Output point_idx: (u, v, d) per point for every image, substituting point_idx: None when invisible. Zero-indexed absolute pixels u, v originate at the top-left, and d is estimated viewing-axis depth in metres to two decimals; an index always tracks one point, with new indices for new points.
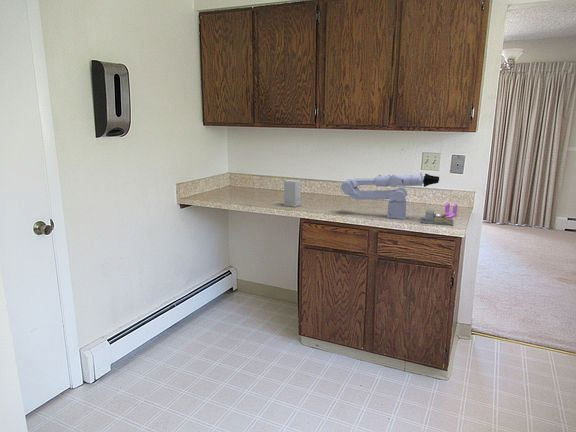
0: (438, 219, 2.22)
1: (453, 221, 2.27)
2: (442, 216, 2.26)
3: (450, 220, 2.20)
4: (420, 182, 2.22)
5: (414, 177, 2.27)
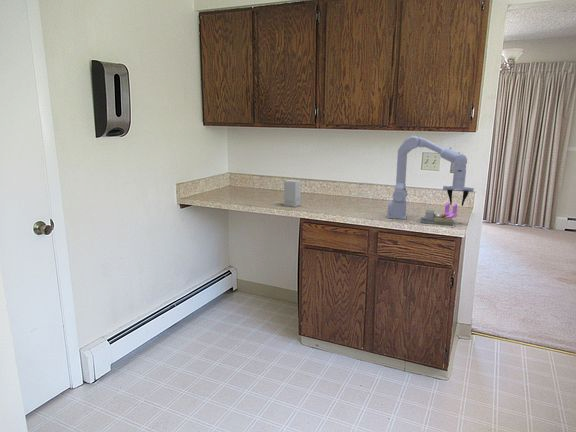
0: (438, 219, 2.22)
1: (453, 221, 2.27)
2: (442, 216, 2.26)
3: (450, 220, 2.20)
4: (443, 187, 2.24)
5: (454, 182, 2.20)
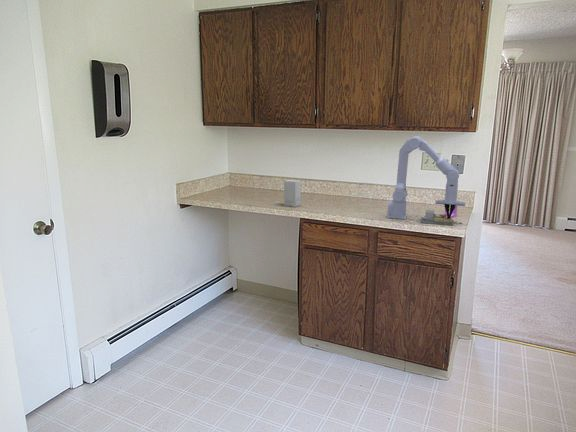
0: (438, 219, 2.22)
1: (453, 221, 2.27)
2: (442, 216, 2.26)
3: (450, 220, 2.20)
4: None
5: (446, 196, 2.23)
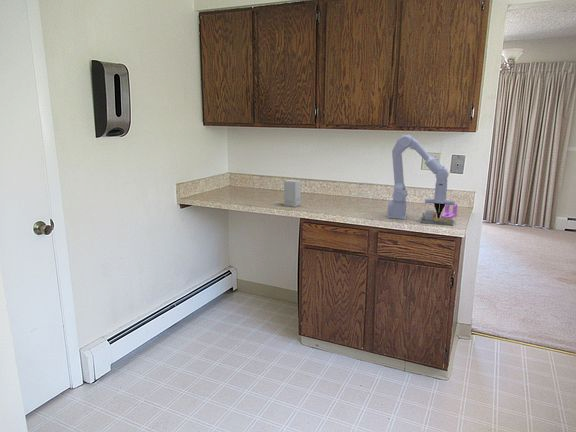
0: (438, 219, 2.22)
1: (453, 221, 2.27)
2: None
3: (450, 220, 2.20)
4: (425, 200, 2.29)
5: (435, 195, 2.25)
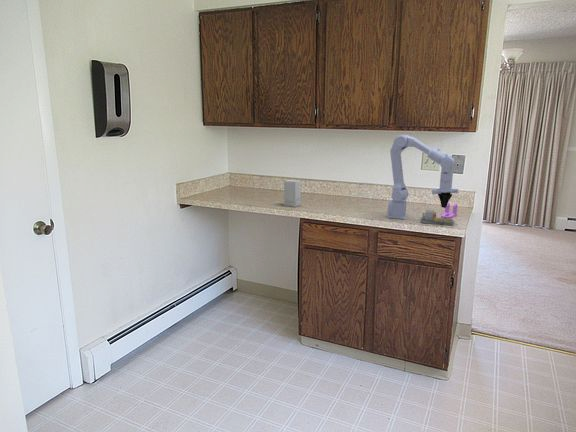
0: (438, 219, 2.22)
1: (453, 221, 2.27)
2: None
3: (450, 220, 2.20)
4: (432, 191, 2.18)
5: (444, 184, 2.17)
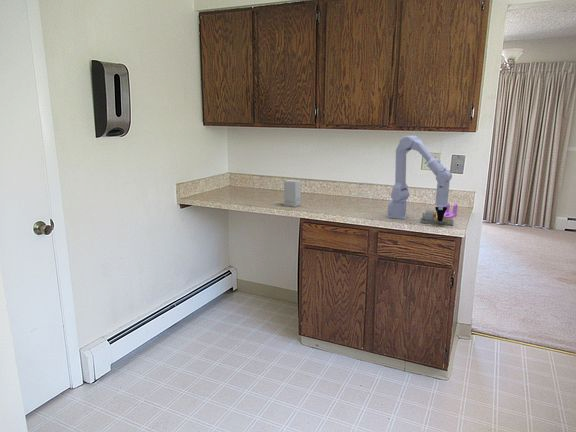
0: None
1: (453, 221, 2.27)
2: None
3: (450, 220, 2.20)
4: (440, 207, 2.13)
5: (445, 199, 2.16)
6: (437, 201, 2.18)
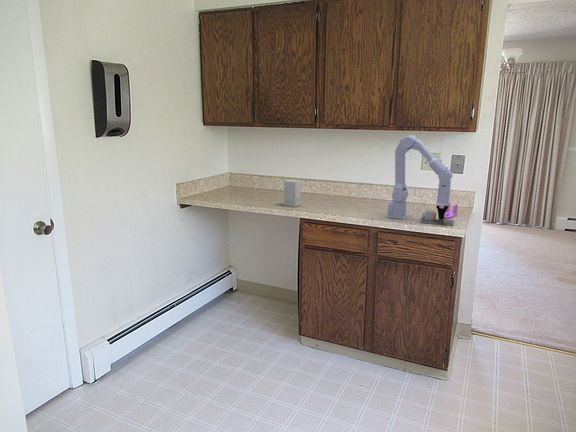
0: None
1: (453, 221, 2.27)
2: None
3: (444, 220, 2.19)
4: (441, 205, 2.17)
5: (446, 197, 2.20)
6: (438, 200, 2.21)
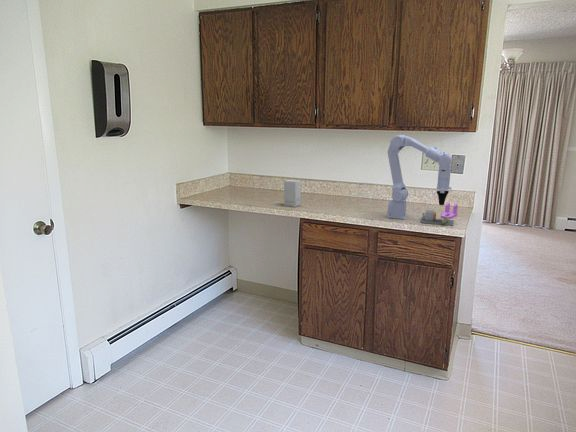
0: None
1: (453, 221, 2.27)
2: None
3: None
4: (441, 190, 2.15)
5: (447, 182, 2.18)
6: (439, 185, 2.20)
